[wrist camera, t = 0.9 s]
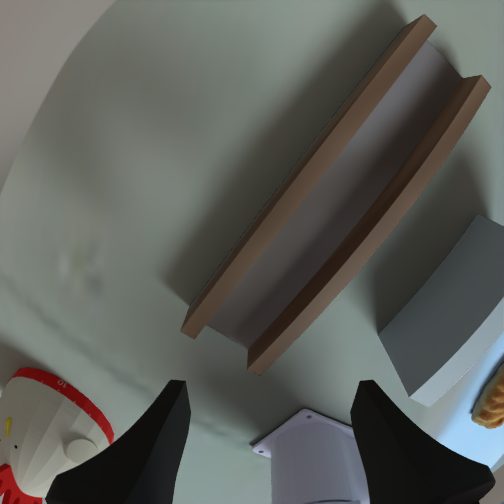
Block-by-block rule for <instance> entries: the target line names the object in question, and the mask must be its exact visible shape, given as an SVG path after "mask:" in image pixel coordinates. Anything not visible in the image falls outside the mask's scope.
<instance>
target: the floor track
mask: <svg viewBox="0 0 504 504" xmlns="http://www.w3.org/2000/svg"><path fill="white" fill-rule="evenodd" d="M436 27H437V25H436V24H435V23H434V22H433V21H431V20H430V19H429V18H428V17H427V16H426V15H425V14H424V15H422V16H420V17H419V18H417V19H416V20H414V21H413V22H411V23H410V24H408V25H406V26H405V27H404V28H403V29H402V30H401V31H400V33H399V34H398V35H397V36H396V38H395V39H394V40H393V41H392V42H391V44H390V45H389V46H388V47H387V49H386V50H385V51H384V52H383V54H382V55H381V56H380V57H379V59H378V60H377V61H376V62H375V64H374V65H373V66H372V67H371V69H370V70H369V71H368V73H367V74H366V75H365V76H364V78H363V79H362V80H361V81H360V83H359V84H358V85H357V86H356V88H355V89H354V90H353V91H352V93H351V94H350V95H349V97H348V98H347V99H346V100H345V102H344V103H343V104H342V105H341V107H340V108H339V109H338V111H337V112H336V113H335V114H334V116H333V117H332V118H331V120H330V121H329V122H328V123H327V125H326V126H325V127H324V129H323V130H322V131H321V132H320V134H319V135H318V136H317V138H316V139H315V140H314V141H313V143H312V144H311V145H310V147H309V148H308V149H307V151H306V152H305V153H304V154H303V156H302V157H301V158H300V160H299V161H298V162H297V164H296V165H295V166H294V168H293V169H292V170H291V171H290V173H289V174H288V175H287V177H286V178H285V179H284V181H283V182H282V183H281V185H280V186H279V187H278V189H277V190H276V191H275V192H274V194H273V195H272V196H271V198H270V199H269V200H268V202H267V203H266V204H265V206H264V207H263V208H262V210H261V211H260V212H259V214H258V215H257V216H256V218H255V219H254V220H253V222H252V223H251V224H250V226H249V227H248V228H247V230H246V231H245V232H244V234H243V235H242V236H241V238H240V239H239V240H238V242H237V243H236V244H235V246H234V247H233V248H232V250H231V251H230V252H229V254H228V255H227V256H226V258H225V259H224V261H223V262H222V263H221V265H220V266H219V267H218V269H217V270H216V271H215V273H214V274H213V275H212V277H211V278H210V280H209V281H208V282H207V284H206V285H205V286H204V288H203V289H202V290H201V292H200V293H199V294H198V296H197V297H196V299H195V300H194V301H193V303H192V304H191V305H190V307H189V309H188V312H187V315H186V317H185V320H184V323H183V325H182V328H181V332H183V333H184V334H186V335H188V336H189V337H191V338H193V339H195V338H196V337H197V335H198V334H199V333H200V331H201V330H202V329H203V328H204V326H205V325H208V326H210V327H211V328H213V329H214V330H216V331H218V332H220V333H221V334H223V335H225V336H226V337H228V338H230V339H231V340H233V341H235V342H237V343H238V344H240V345H242V346H244V347H245V348H247V349H248V362H247V370H249V371H251V372H253V373H255V374H257V375H259V376H260V375H261V374H262V373H263V372H264V371H265V370H266V369H267V368H268V367H269V366H270V365H271V364H272V363H273V362H274V361H275V360H276V359H277V358H278V357H279V356H280V355H281V354H282V353H283V352H284V351H285V350H286V349H287V348H288V347H289V346H290V345H291V344H292V343H293V342H294V341H295V340H296V339H297V338H298V337H299V336H300V335H301V334H302V333H303V332H304V331H305V330H306V329H307V328H308V327H309V326H310V325H311V324H312V323H313V321H314V320H315V319H316V318H317V317H318V316H319V315H320V314H321V313H322V312H323V311H324V310H325V309H326V307H327V306H328V305H329V304H330V303H331V302H332V301H333V300H334V299H335V298H336V296H337V295H338V294H339V293H340V292H341V291H342V290H343V289H344V288H345V286H346V285H347V284H348V283H349V282H350V281H351V280H352V278H353V277H354V276H355V275H356V274H357V273H358V271H359V270H360V269H361V268H362V267H363V266H364V264H365V263H366V262H367V261H368V260H369V259H370V257H371V256H372V255H373V254H374V253H375V251H376V250H377V249H378V248H379V246H380V245H381V244H382V243H383V242H384V240H385V239H386V238H387V237H388V235H389V234H390V233H391V232H392V230H393V229H394V228H395V227H396V225H397V224H398V223H399V222H400V220H401V219H402V218H403V216H404V215H405V214H406V213H407V211H408V210H409V209H410V207H411V206H412V205H413V203H414V202H415V201H416V199H417V198H418V197H419V195H420V194H421V193H422V191H423V190H424V189H425V187H426V186H427V185H428V183H429V182H430V180H431V179H432V178H433V176H434V175H435V173H436V172H437V171H438V169H439V168H440V166H441V165H442V164H443V162H444V161H445V159H446V158H447V156H448V155H449V153H450V152H451V150H452V149H453V148H454V146H455V145H456V143H457V142H458V140H459V139H460V137H461V135H462V134H463V132H464V131H465V129H466V128H467V126H468V125H469V123H470V122H471V120H472V118H473V117H474V115H475V114H476V112H477V110H478V109H479V107H480V105H481V104H482V102H483V100H484V99H485V97H486V95H487V94H488V92H489V90H490V89H491V86H490V85H489V83H488V82H487V81H486V79H485V78H484V77H483V76H482V75H479V76H473V77H467V78H462V77H461V76H460V74H459V73H458V72H457V71H456V70H455V69H454V68H453V67H452V66H451V65H450V63H449V62H448V61H447V60H446V59H445V58H444V57H443V56H442V55H441V54H440V53H439V52H438V51H437V50H436V49H435V48H434V47H433V46H432V45H431V44H430V43H429V42H428V41H427V39H428V38H429V36H430V35H431V34H432V32H433V31H434V30H435V28H436Z"/></svg>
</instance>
